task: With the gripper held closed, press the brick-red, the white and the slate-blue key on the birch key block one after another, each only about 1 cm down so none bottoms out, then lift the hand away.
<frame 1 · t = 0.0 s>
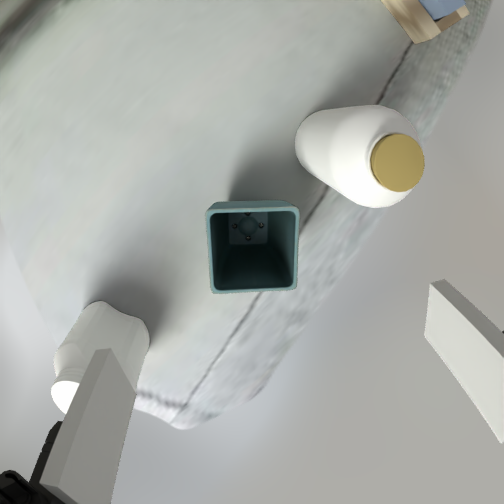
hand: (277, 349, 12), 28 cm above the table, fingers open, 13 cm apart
flower pot: (248, 224, 40), on the table
jar: (113, 332, 44), on the table
potion bottle: (326, 144, 36), on the table
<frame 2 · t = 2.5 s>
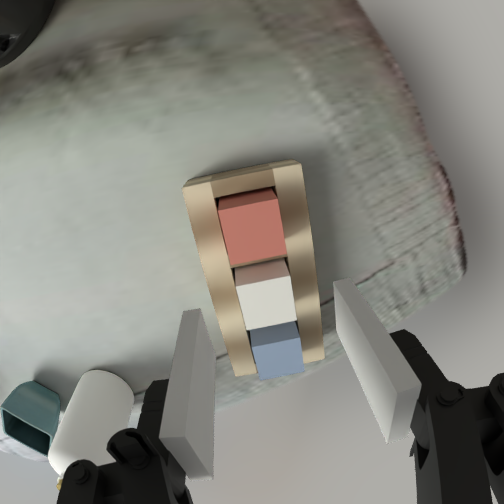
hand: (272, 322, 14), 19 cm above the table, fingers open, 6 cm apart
key block: (260, 269, 34), on the table
white key: (264, 290, 29), point 4 cm above the table, slide at 0.0 cm
blue key: (276, 344, 32), point 5 cm above the table, slide at 0.0 cm
red key: (251, 223, 27), point 4 cm above the table, slide at 0.0 cm
flower pot: (45, 394, 40), on the table
potion bottle: (108, 386, 39), on the table
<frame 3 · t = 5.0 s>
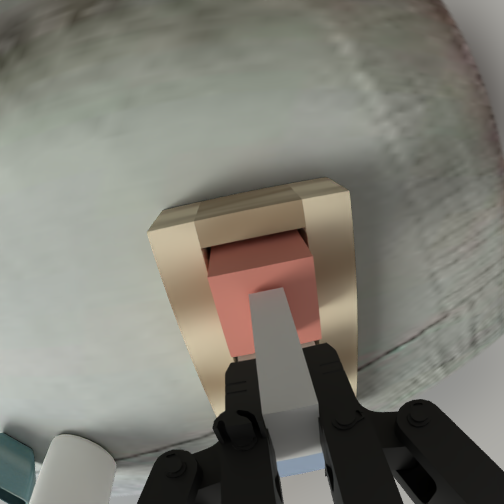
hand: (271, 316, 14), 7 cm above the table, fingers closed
key block: (273, 335, 23), on the table
white key: (281, 378, 19), point 4 cm above the table, slide at 0.0 cm
blue key: (293, 434, 21), point 4 cm above the table, slide at 0.0 cm
red key: (263, 285, 17), point 4 cm above the table, slide at 0.5 cm, touching gripper
flower pot: (19, 446, 29), on the table
potion bottle: (85, 449, 29), on the table
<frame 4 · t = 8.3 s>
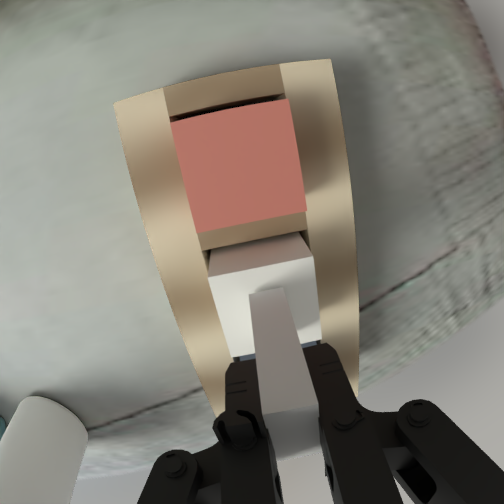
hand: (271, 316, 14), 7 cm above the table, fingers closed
key block: (257, 256, 20), on the table
white key: (263, 285, 17), point 4 cm above the table, slide at 0.7 cm, touching gripper
blue key: (283, 381, 19), point 4 cm above the table, slide at 0.0 cm
red key: (238, 159, 14), point 4 cm above the table, slide at 0.8 cm
potion bottle: (56, 416, 26), on the table
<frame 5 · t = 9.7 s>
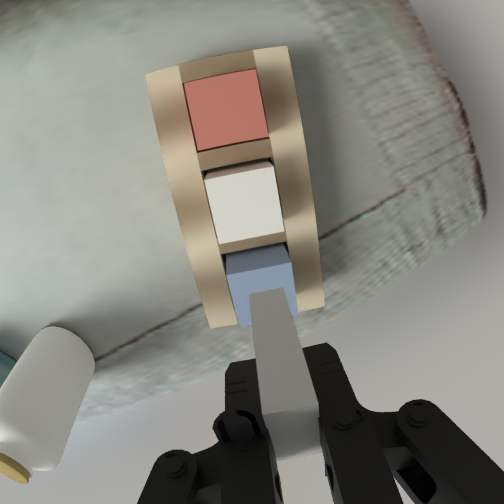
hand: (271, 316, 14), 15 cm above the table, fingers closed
key block: (241, 187, 27), on the table
white key: (243, 197, 23), point 4 cm above the table, slide at 0.8 cm
blue key: (260, 280, 25), point 4 cm above the table, slide at 0.0 cm
red key: (226, 110, 21), point 4 cm above the table, slide at 0.8 cm
flower pot: (4, 361, 33), on the table
potion bottle: (67, 349, 33), on the table
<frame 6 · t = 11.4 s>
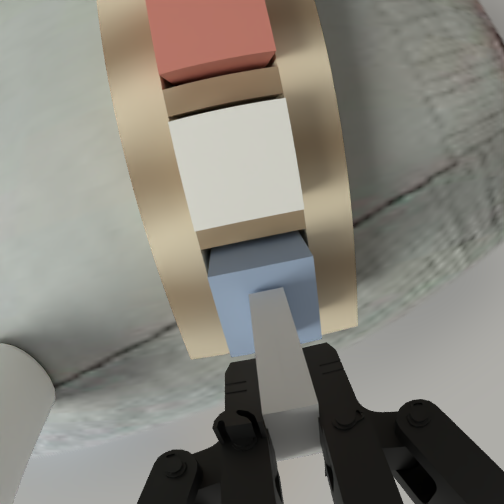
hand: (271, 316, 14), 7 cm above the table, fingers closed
key block: (235, 151, 18), on the table
white key: (236, 158, 14), point 4 cm above the table, slide at 0.8 cm
blue key: (263, 285, 17), point 4 cm above the table, slide at 0.6 cm, touching gripper
red key: (210, 27, 12), point 4 cm above the table, slide at 0.8 cm
potion bottle: (23, 371, 24), on the table
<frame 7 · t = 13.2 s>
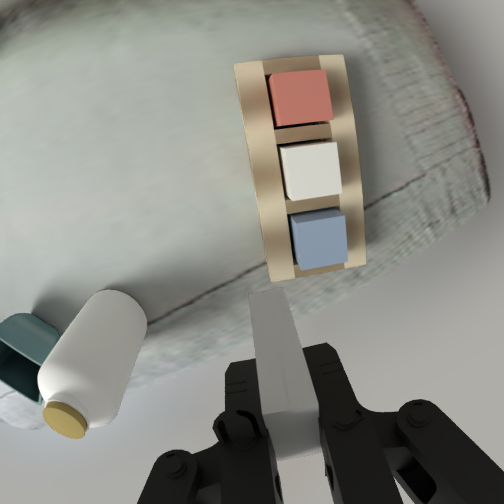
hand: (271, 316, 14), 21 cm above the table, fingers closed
key block: (299, 164, 32), on the table
white key: (308, 168, 29), point 4 cm above the table, slide at 0.8 cm
blue key: (316, 234, 31), point 4 cm above the table, slide at 0.8 cm
red key: (297, 99, 26), point 4 cm above the table, slide at 0.8 cm
flower pot: (43, 332, 38), on the table
potion bottle: (117, 315, 37), on the table
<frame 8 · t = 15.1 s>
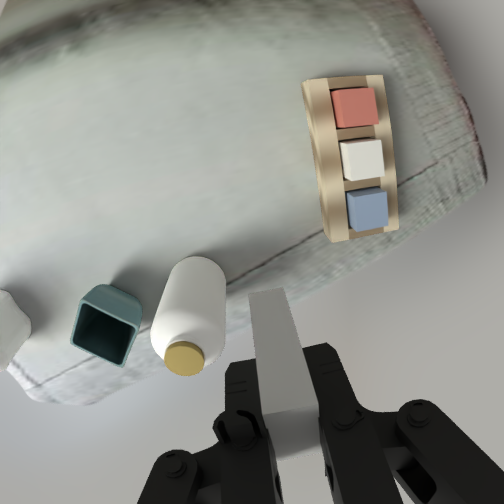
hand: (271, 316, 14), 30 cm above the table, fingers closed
key block: (348, 154, 41), on the table
white key: (358, 157, 38), point 4 cm above the table, slide at 0.8 cm
blue key: (364, 206, 40), point 4 cm above the table, slide at 0.8 cm
red key: (351, 107, 35), point 4 cm above the table, slide at 0.8 cm
flower pot: (119, 302, 48), on the table
jar: (9, 315, 48), on the table
potion bottle: (198, 279, 47), on the table
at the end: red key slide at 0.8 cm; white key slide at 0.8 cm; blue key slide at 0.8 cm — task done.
